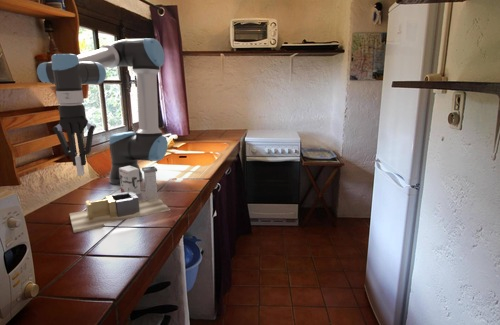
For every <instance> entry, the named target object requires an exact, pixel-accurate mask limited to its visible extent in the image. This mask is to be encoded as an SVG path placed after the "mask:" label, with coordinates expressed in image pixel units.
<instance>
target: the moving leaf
mask: <svg viewBox="0 0 500 325" xmlns="http://www.w3.org/2000/svg"><path fill="white" fill-rule="evenodd" d="M104 198H105V199H98V200H93V201H90V200H89V199H88V200H85V208H86V210H87V216H88V219H89V220H93V217H98V216H103V215H108V214H109V215H110V217H115V216H117V214H116V204H115V200H114V199H113V197H112V194H111V195H106V196H104Z"/></svg>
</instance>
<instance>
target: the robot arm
mask: <svg viewBox="0 0 500 325" xmlns="http://www.w3.org/2000/svg"><path fill="white" fill-rule="evenodd" d="M165 58H166V57H165V51H164V48H163V47H162V45H161V42H159V40H157V39H155V38H147V37H145V38H144V37H143V38H126V39H120V40H116V41H113V42H109V43H107V44H104V45H102V46H100V48H99V49H95V50H92V51H89V52H85V53H84V52H83V53H81V54H74V53H54V54H52V55H51V61H45V62H42V63H39V64H38V66H37V69H36V74H37V77H38V79H39V81H41V82H42V83H44V84H45V82H47V83H52V84H55V85H54V86H55V92H56V93H55V94H56V99H57V100H56V101H57V104H58V115H59V121H58V124H57V125H55V126H53V127H52V128H51V129H52V131H53V132H54V133H55V134H56V136H57V139H58V141H59V143H60V146H61V148H62V150H63V153H64V155H65V156H70V157H71V161H72V165H73V166H74V167H75V168H76V172H77V173H76V174H77V177H81V176H82V177H83V176H84V175H85V168H84V167H85V165H87V160H86V155H89V154H90V153H91V151H92V144H93V136H94V135H93V134H94V131H95V129H96V128H97V127H96V124H92V123H90V122H89V120H88V118H87V116H86V109H85V105H84V104H83V103H85V102H84V101H85V100H84V94H83V85H95V86H96V85H98V84H102V83H103V82H104V81H106V77H107V71H106V68H109V69H110V68H111V69H114V68H117V67H132V71H133V72H134V73H135V75H136V77H135V78H136V91H137V92H136V94H137V113H138V129H137V130H136V131H125V132H118V133H114V134H112V135H110V136H109V138H108V139H109V144H108V145H109V152H110V158H111V159H110V160H111V168H110V173H109V176H108V178H109V180H108V181H109V183H110V184H112V185H118V186H121V185H120V174H119V168H121V167H125V166H132V167H135V168H138V169H139V178H140V182H141V181H143V180H144V179H143V176H144V175H143V173H142V172H143V171H142V169H141V167H140V165H139V164H138V161H145V162H146V161H148V162H159V161H162V160H163V159H164V157H165V156H166V154H167V152H168V147H169V146H168V140H167V137H166V136H164V135H163V131H162V130H161V129H160V128H159V109H158V107H159V106H158V103H159V102H158V83H157V82H158V81H157V80H158V79H157V77H158V76H157V75H158V74H159V73H160V72H161V71H160V70H161V68H160V67H162V66H163V65H164V64H165ZM52 84H51V85H52ZM85 129H87V135H86V140H85V141H86V143H85V141H84V131H85ZM63 130H64V131H65V132H66V134H67V137H68V141H67V138H66V137H65V134H64V132H63ZM75 136H76V137H75ZM76 140H77V143H76ZM77 146H78V149H77ZM77 150H78V151H77ZM78 153H79V154H78Z"/></svg>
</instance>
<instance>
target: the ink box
mask: <svg viewBox="0 0 500 325" xmlns="http://www.w3.org/2000/svg"><path fill="white" fill-rule="evenodd" d="M119 174H120V185H119V186H120V193H123V192H134V193H135V194H136V195H137V196H138V195H141V181H140V178H139V169H138V168H135V167H132V166H125V167H121V168H119Z"/></svg>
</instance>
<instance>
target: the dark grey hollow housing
mask: <svg viewBox="0 0 500 325" xmlns="http://www.w3.org/2000/svg"><path fill="white" fill-rule="evenodd" d="M111 196H112V197H113V199H114V200H115V204H116V210H117V216H118V217H122V216H127V215H132V214H135V213H136V212H140V210H139V201H140V199H139V196H138V194H137V195H136V194H135V193H134V192H123V193H122V192H118V193H117V192H116V193H112V194H111Z"/></svg>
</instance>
